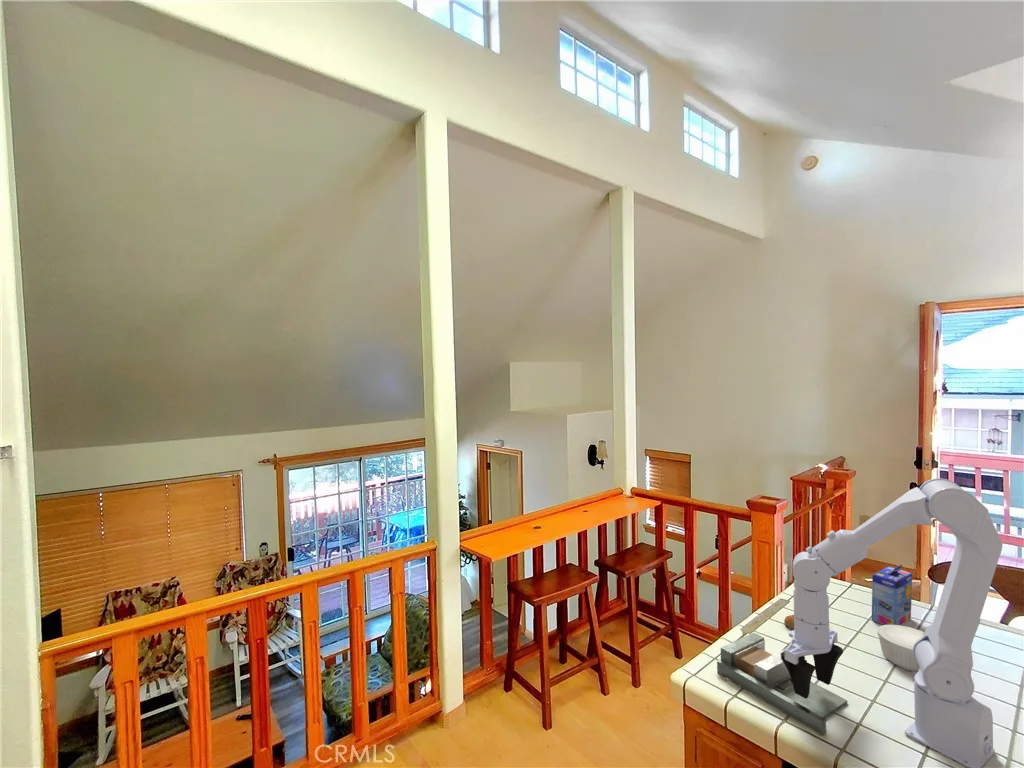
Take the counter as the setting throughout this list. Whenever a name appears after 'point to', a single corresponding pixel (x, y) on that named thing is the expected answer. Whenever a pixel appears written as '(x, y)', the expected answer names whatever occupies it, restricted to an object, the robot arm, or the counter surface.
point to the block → (751, 660)
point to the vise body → (787, 701)
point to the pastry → (789, 621)
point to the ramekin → (899, 645)
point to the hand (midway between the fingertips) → (812, 688)
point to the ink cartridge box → (891, 596)
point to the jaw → (771, 670)
